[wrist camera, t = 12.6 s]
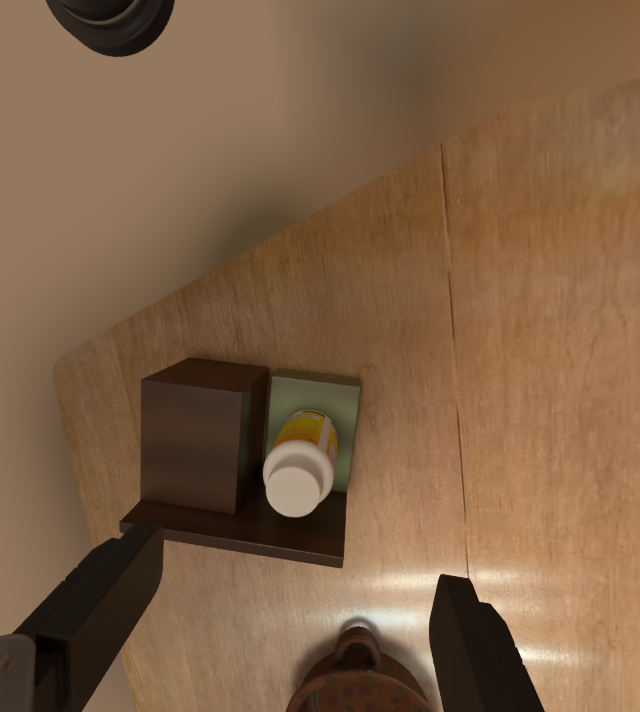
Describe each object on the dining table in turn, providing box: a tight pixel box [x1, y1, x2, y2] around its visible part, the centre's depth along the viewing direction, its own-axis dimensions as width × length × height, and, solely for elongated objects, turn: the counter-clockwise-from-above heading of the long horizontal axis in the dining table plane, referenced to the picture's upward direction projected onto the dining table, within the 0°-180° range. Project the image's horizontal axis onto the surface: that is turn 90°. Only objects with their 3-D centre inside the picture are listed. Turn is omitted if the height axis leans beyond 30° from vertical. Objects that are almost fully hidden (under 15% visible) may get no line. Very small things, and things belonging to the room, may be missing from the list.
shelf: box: [119, 358, 361, 568], centre depth 34 cm, size 12×18×12 cm, turn 84°
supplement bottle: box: [263, 410, 338, 517], centre depth 32 cm, size 6×6×10 cm
